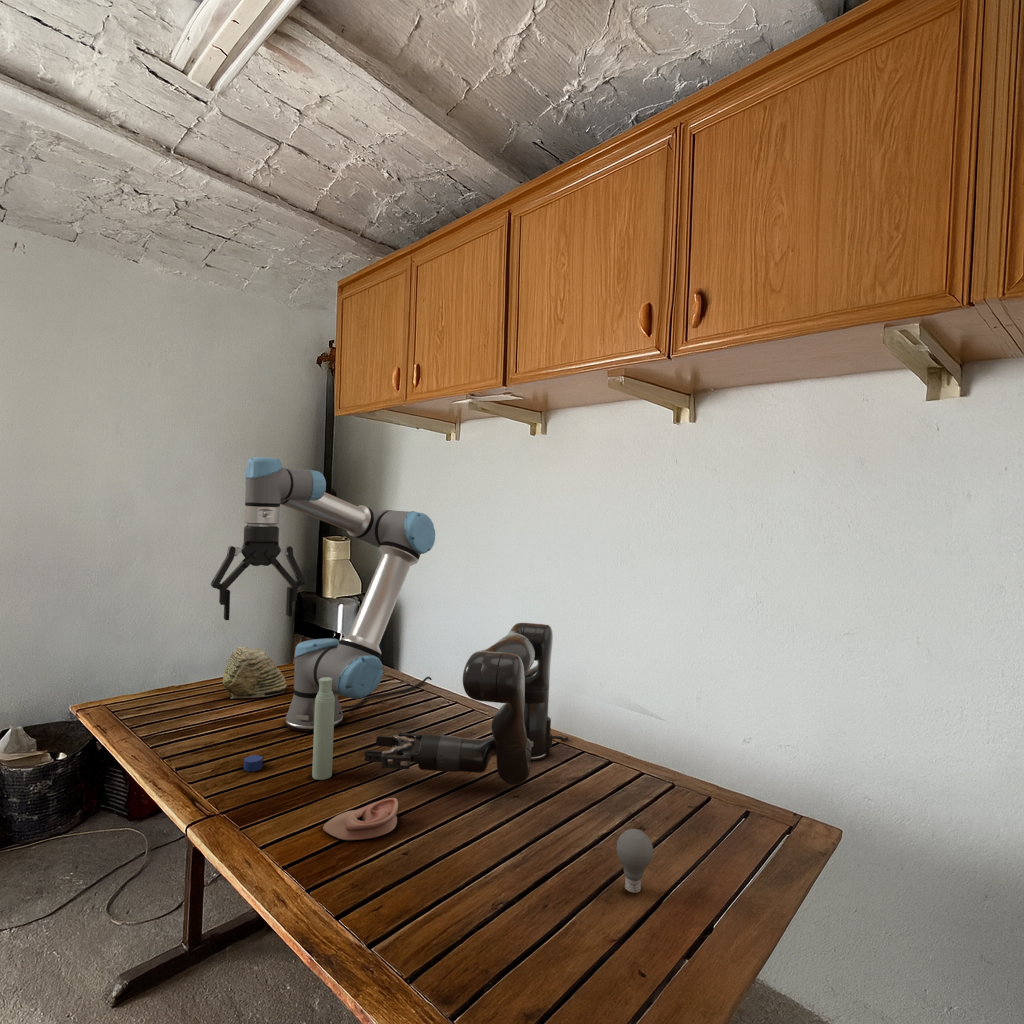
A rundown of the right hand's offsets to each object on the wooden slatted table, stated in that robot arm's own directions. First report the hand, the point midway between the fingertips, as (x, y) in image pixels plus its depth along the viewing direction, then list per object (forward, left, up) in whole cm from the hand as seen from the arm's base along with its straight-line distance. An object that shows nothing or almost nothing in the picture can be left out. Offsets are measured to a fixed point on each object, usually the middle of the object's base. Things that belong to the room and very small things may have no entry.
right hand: (371, 747), depth 143 cm
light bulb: (-36, +53, -7) cm, 65 cm away
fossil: (+26, -69, -7) cm, 74 cm away
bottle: (+10, -4, -7) cm, 13 cm away
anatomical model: (+4, +20, -7) cm, 22 cm away
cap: (+25, -13, -5) cm, 28 cm away
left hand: (+25, -13, +28) cm, 39 cm away
